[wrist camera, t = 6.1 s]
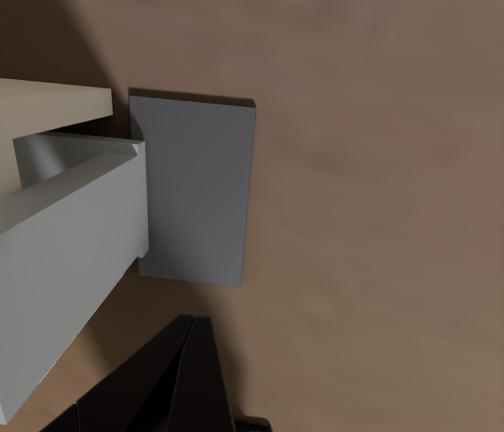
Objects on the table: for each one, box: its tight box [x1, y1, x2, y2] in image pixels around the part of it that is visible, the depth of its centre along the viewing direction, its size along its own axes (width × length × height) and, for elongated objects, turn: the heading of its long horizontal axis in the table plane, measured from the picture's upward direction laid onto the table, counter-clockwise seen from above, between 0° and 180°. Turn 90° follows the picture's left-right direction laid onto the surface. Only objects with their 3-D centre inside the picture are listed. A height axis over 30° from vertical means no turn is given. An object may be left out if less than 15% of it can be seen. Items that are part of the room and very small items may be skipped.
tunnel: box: [0, 78, 256, 384], centre depth 15 cm, size 10×15×8 cm
